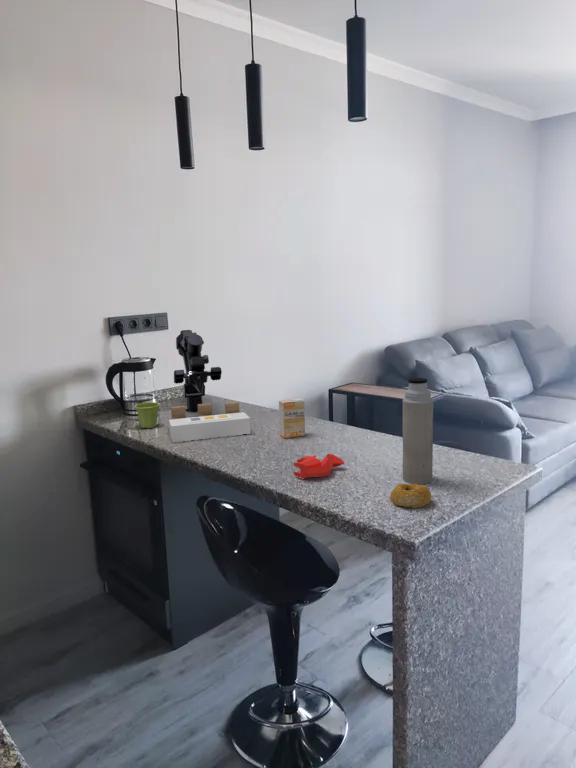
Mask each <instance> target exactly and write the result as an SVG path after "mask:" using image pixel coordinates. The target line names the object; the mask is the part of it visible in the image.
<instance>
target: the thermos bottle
mask: <svg viewBox="0 0 576 768" xmlns="http://www.w3.org/2000/svg"><path fill="white" fill-rule="evenodd" d="M407 382H408V389H407V390H405V394H404V397H403V399H402V480H403V481H404V482H405V483H408V482H409V483H408V484H418V485H424V484H423V483H425V484H428V482H429V483H431V482H432V481H433V466H434V465H433V464H434V463H433V460H434V459H433V456H434V455H433V454H434V453H433V452H434V451H433V450H434V447H433V446H434V445H433V437H434V435H433V434H434V399H433V398H432V397H431V396H432V393H431V390H430V389H428V379H427V378H424V377H410V378H408V381H407Z"/></svg>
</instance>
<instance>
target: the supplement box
mask: <svg viewBox="0 0 576 768" xmlns="http://www.w3.org/2000/svg"><path fill="white" fill-rule="evenodd" d="M305 408H306V407H305V399H303V398H300V397H299V398H292V399H291V398H290V399H279V400H278V416H279V419H278V420H279V421H278V422H279V435H280V437H282V438H283V439H289V438H291V437H292V438H298V437H305V436H306V416H305V415H306V412H305V410H306V409H305Z"/></svg>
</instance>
